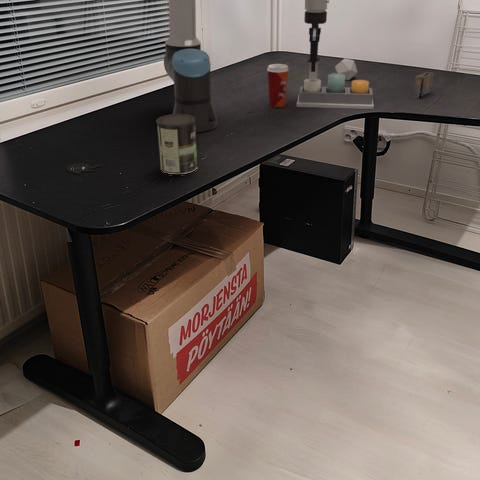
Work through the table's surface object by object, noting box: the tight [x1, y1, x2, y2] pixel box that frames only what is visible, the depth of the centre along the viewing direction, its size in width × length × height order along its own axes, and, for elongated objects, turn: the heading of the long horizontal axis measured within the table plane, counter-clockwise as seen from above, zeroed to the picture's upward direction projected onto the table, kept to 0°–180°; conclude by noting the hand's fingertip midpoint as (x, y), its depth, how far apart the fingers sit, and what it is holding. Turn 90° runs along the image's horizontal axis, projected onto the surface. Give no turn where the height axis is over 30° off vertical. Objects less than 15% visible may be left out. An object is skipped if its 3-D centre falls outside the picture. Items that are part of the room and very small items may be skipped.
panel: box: [296, 85, 375, 110], centre depth 219 cm, size 27×13×4 cm, turn 82°
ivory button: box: [303, 78, 322, 92], centre depth 219 cm, size 6×6×6 cm
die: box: [334, 58, 358, 82], centre depth 247 cm, size 8×9×10 cm
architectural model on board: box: [412, 71, 434, 97], centre depth 225 cm, size 11×3×10 cm, turn 143°
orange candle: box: [351, 79, 370, 94], centre depth 216 cm, size 6×6×6 cm
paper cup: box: [266, 63, 290, 108], centre depth 215 cm, size 8×8×14 cm
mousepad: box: [66, 162, 102, 175], centre depth 168 cm, size 9×8×1 cm
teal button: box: [327, 72, 346, 93], centre depth 217 cm, size 6×6×6 cm
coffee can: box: [156, 113, 199, 174], centre depth 164 cm, size 10×10×14 cm
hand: (312, 80), depth 217 cm, fingers closed
